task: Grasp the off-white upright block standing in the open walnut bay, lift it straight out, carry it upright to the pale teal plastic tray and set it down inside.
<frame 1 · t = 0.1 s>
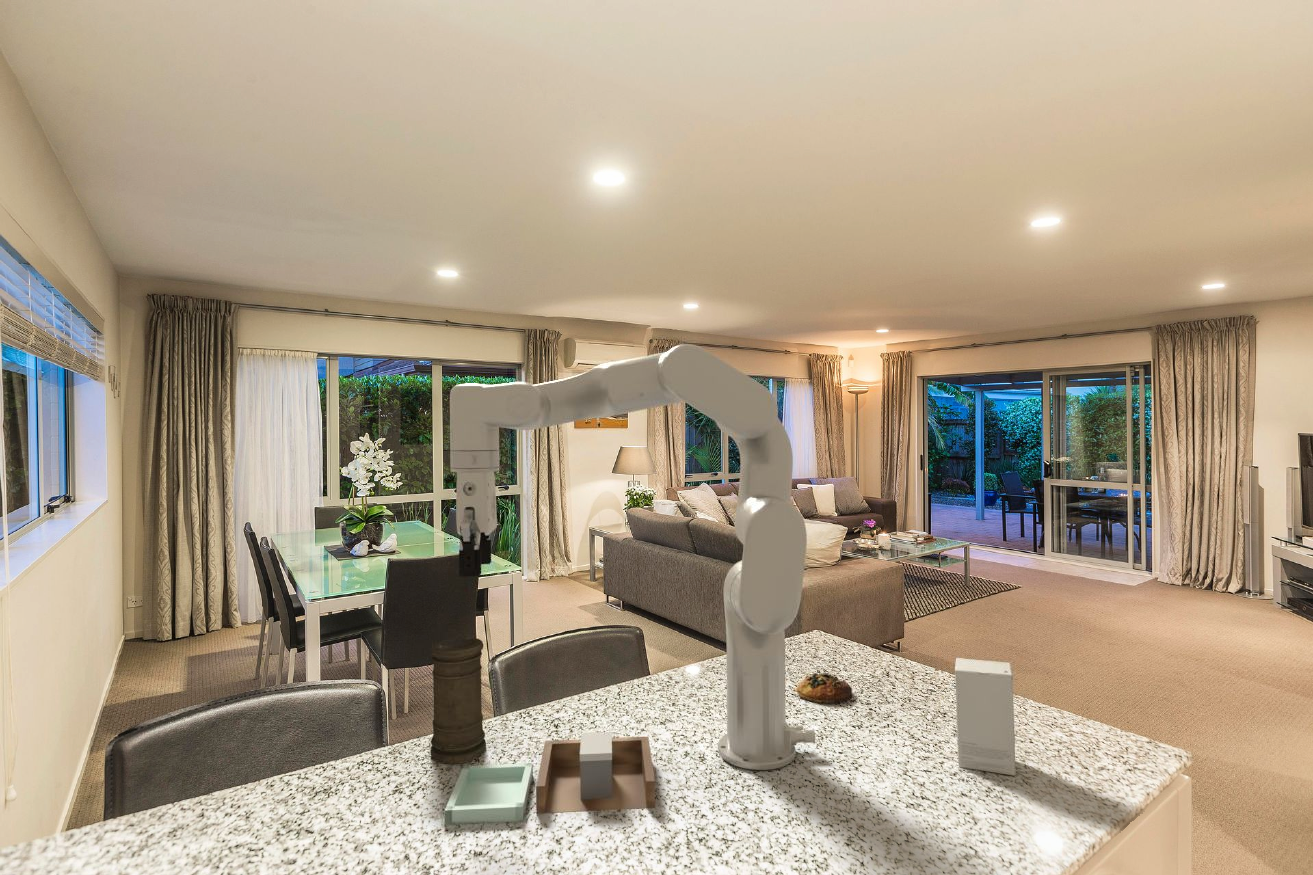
hand: (476, 569, 109), 31 cm above the kitchen island, fingers open, 9 cm apart
tray: (491, 800, 99), on the kitchen island
bread roll: (823, 696, 138), on the kitchen island
container: (458, 752, 114), on the kitchen island
bay: (596, 788, 102), on the kitchen island
skincare box: (985, 765, 108), on the kitchen island
off-white upright block: (596, 786, 102), resting on bay
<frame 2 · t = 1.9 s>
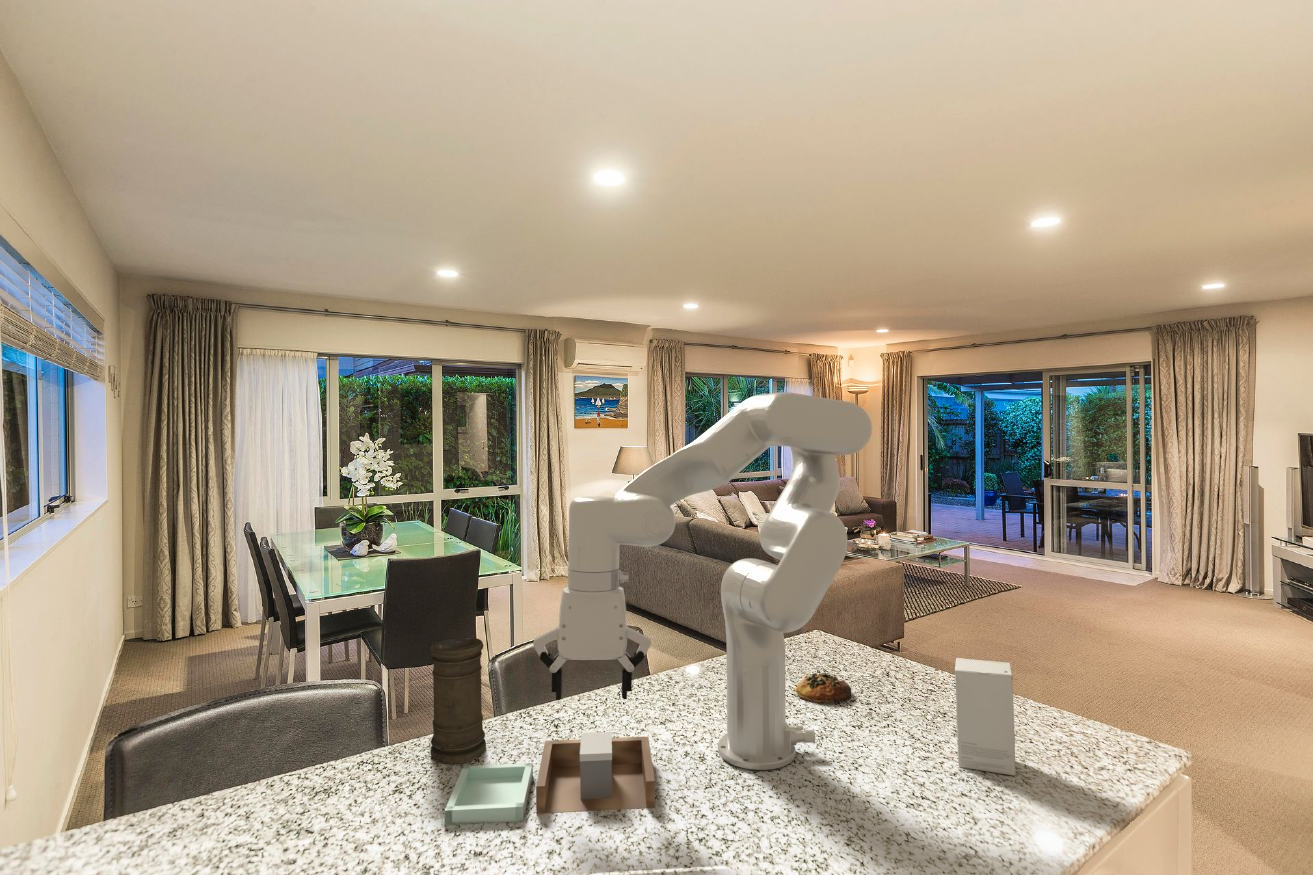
hand: (591, 696, 101), 14 cm above the kitchen island, fingers open, 9 cm apart
nothing on the kitchen island moved.
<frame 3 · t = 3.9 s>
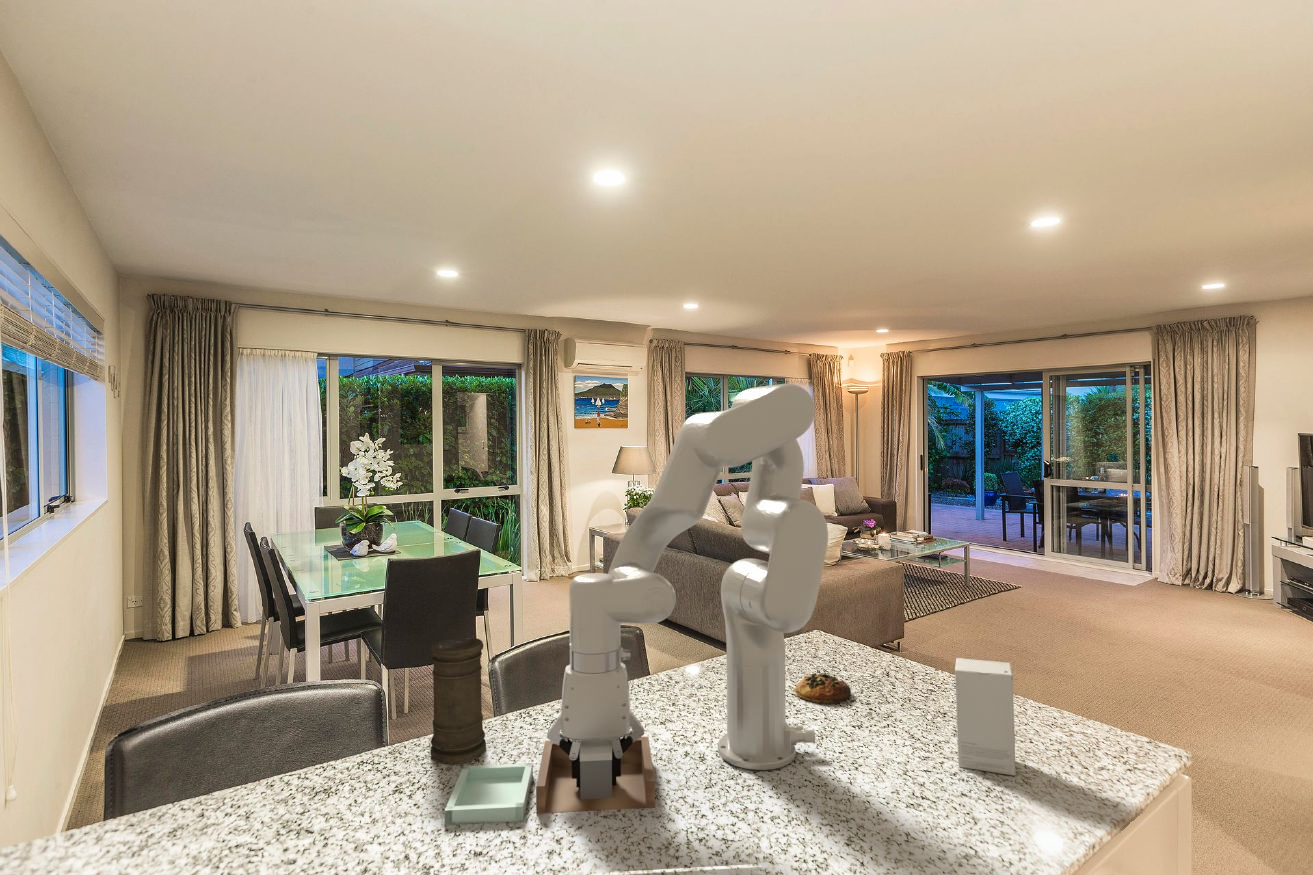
hand: (596, 780, 102), 1 cm above the kitchen island, fingers closed on off-white upright block, 4 cm apart
off-white upright block: (596, 786, 102), resting on bay, touching gripper
everything else where it was.
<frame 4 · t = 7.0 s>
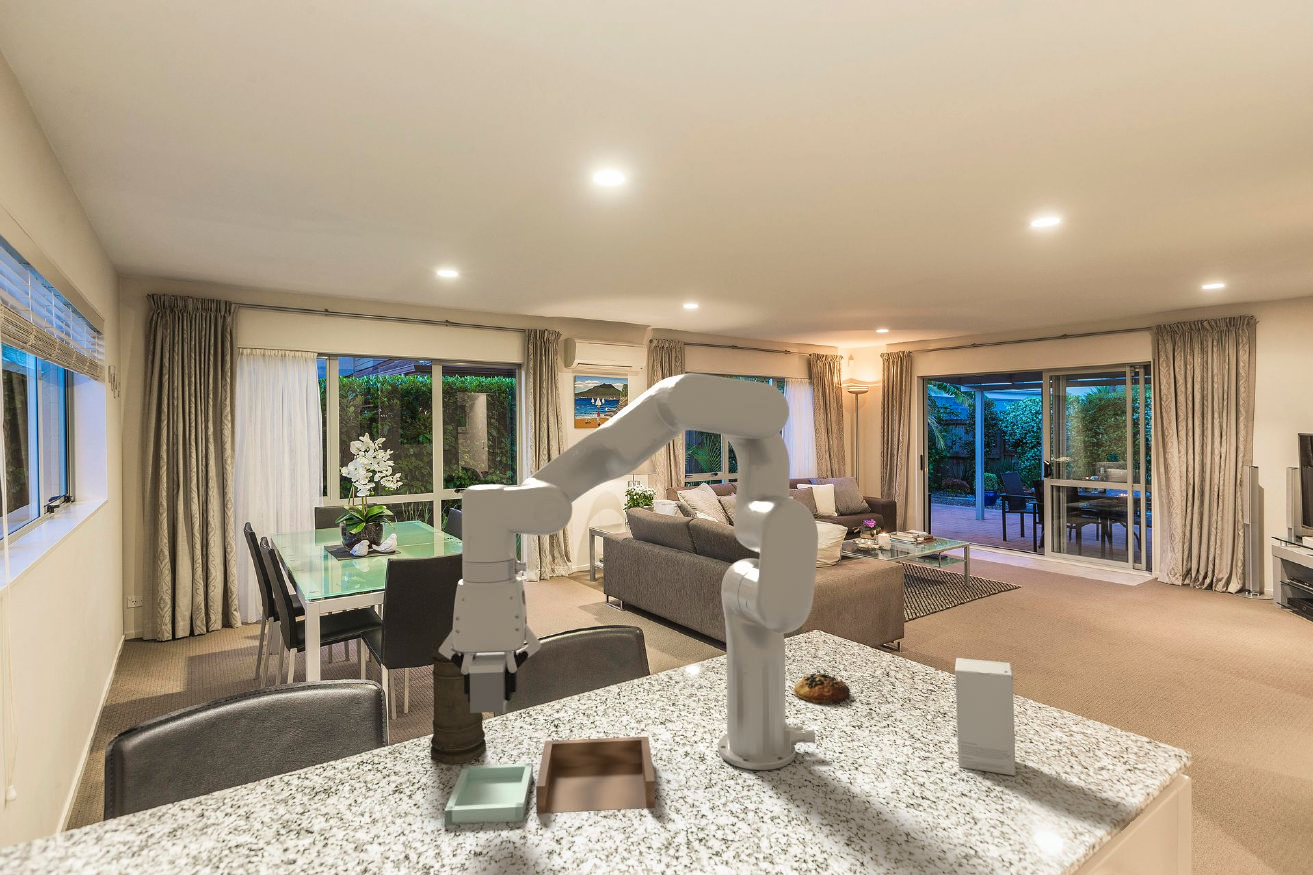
hand: (490, 696, 99), 15 cm above the kitchen island, fingers closed on off-white upright block, 4 cm apart
off-white upright block: (490, 702, 99), point 14 cm above the kitchen island, touching gripper
everything else where it was.
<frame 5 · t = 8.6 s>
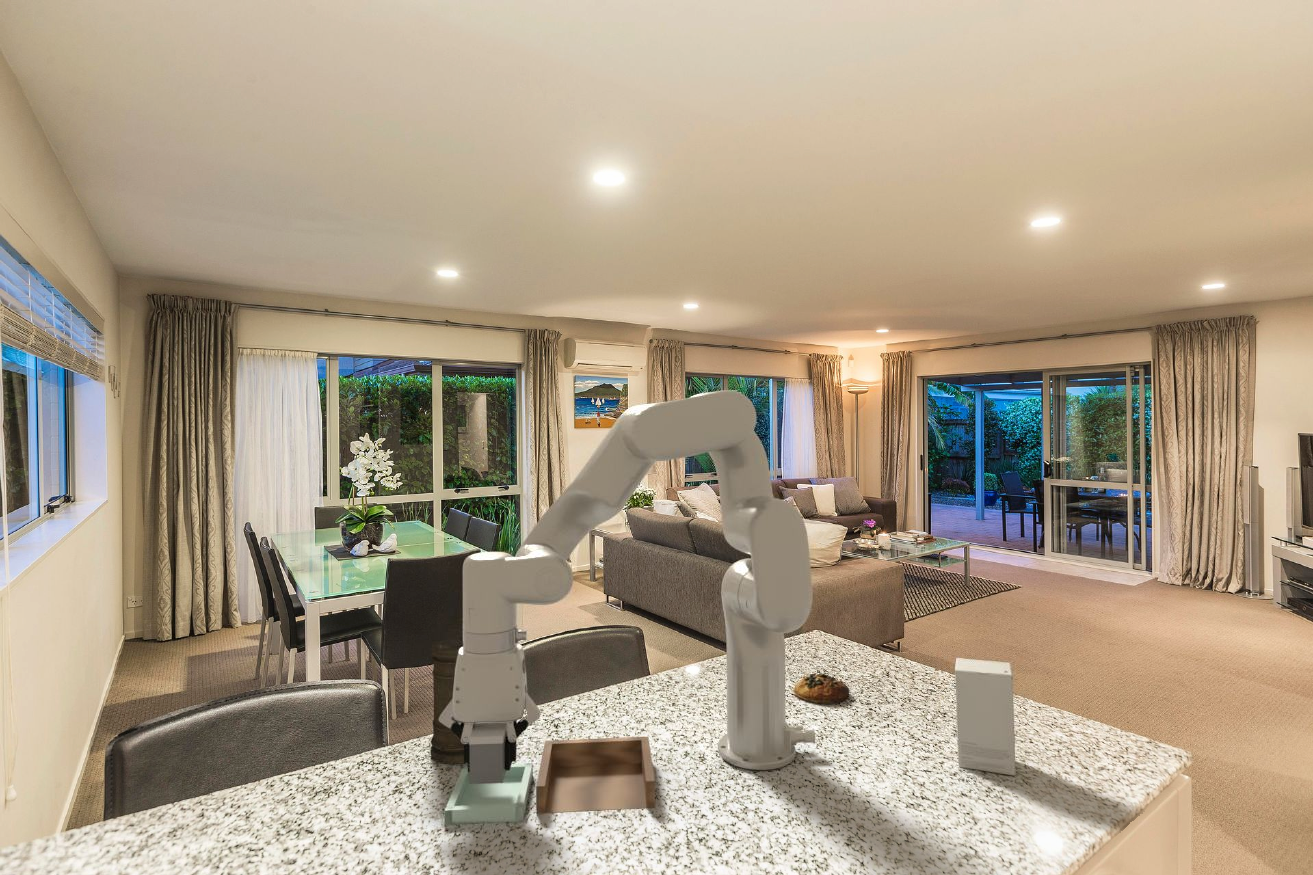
hand: (490, 765, 99), 5 cm above the kitchen island, fingers closed on off-white upright block, 4 cm apart
off-white upright block: (490, 771, 99), point 4 cm above the kitchen island, touching gripper
everything else where it was.
when the fingers open (3 cm above the kitchen island, at t = 9.9 s): off-white upright block drops 1 cm, resting on tray.
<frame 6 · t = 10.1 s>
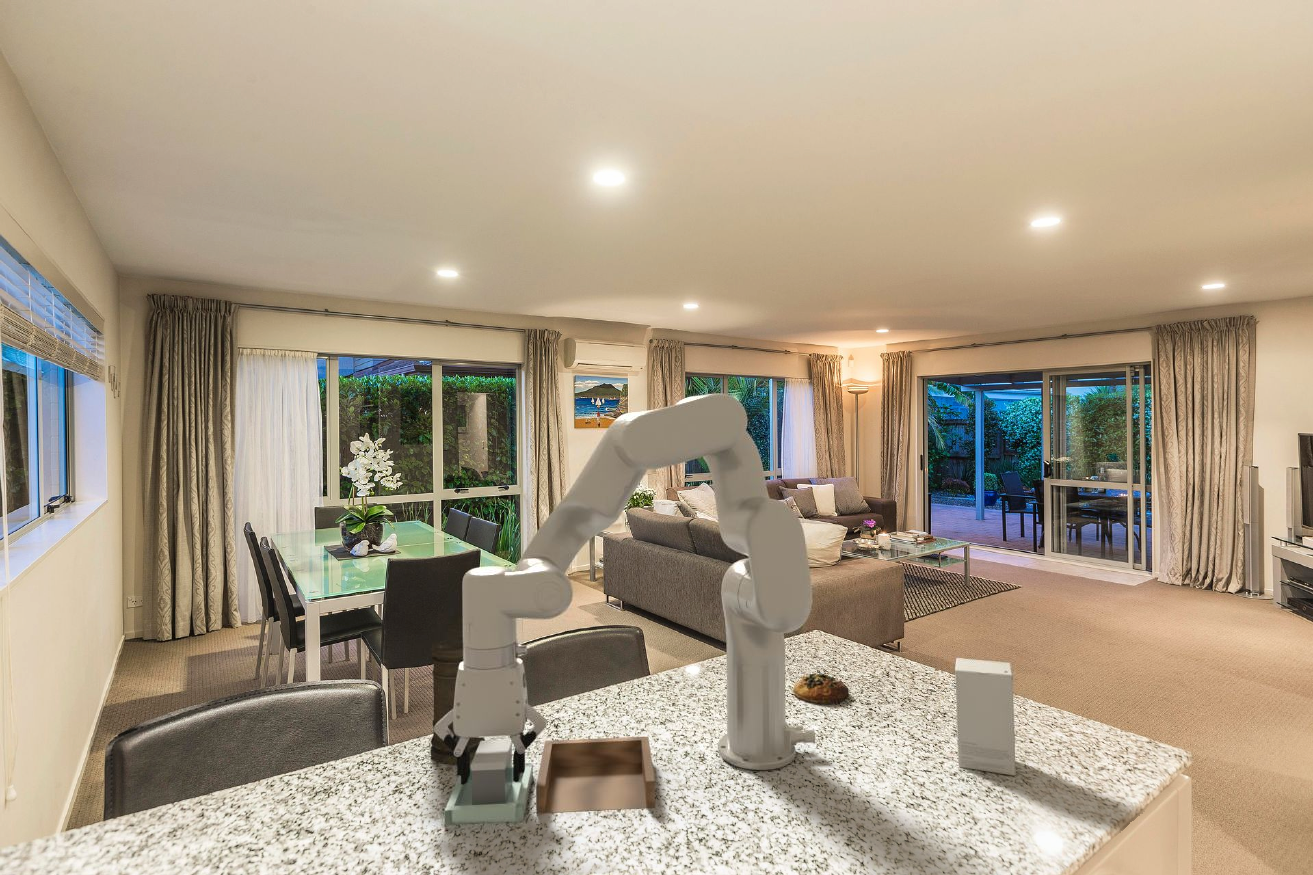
hand: (491, 777, 99), 3 cm above the kitchen island, fingers open, 6 cm apart
off-white upright block: (492, 795, 99), point 1 cm above the kitchen island, touching tray
everything else where it was.
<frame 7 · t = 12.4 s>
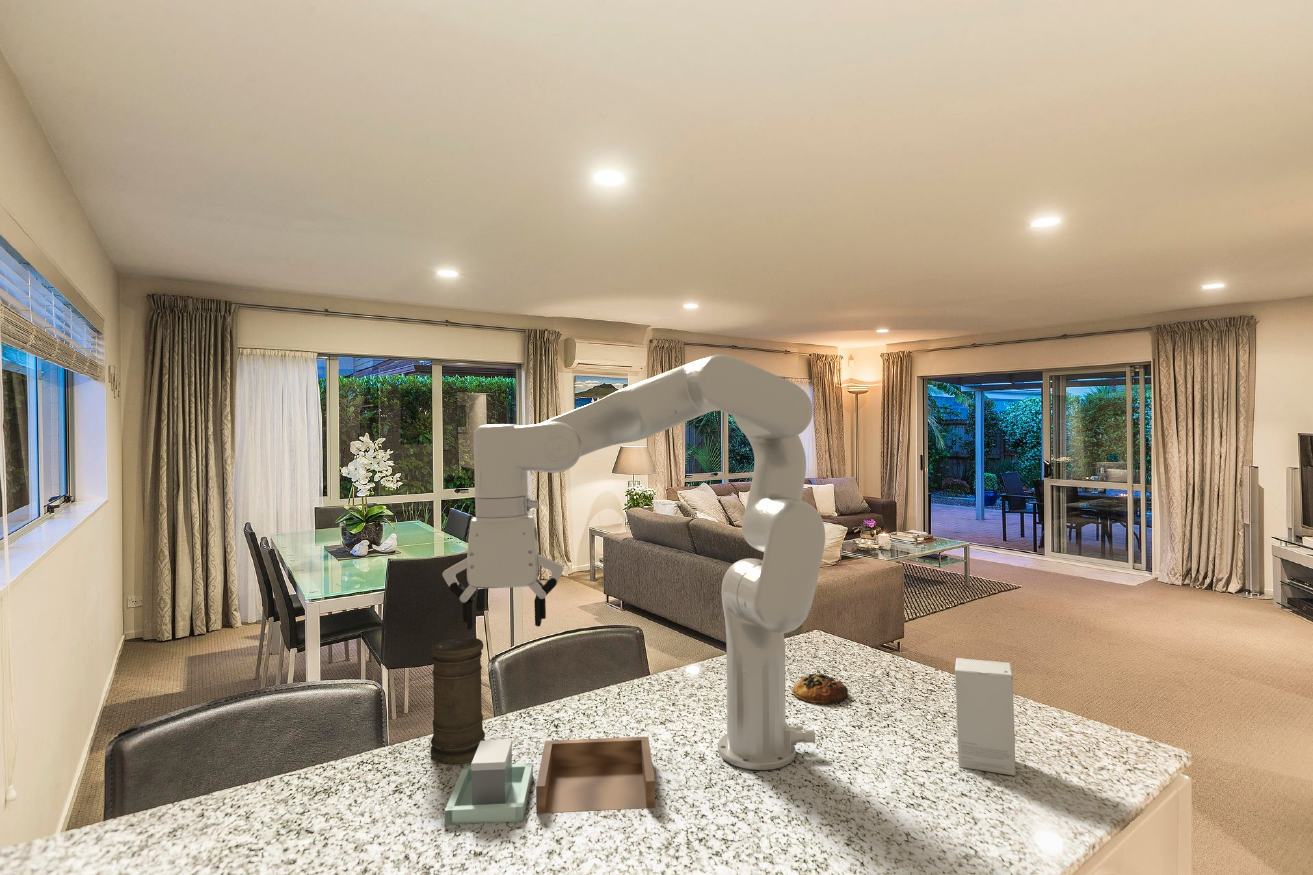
hand: (505, 625, 100), 25 cm above the kitchen island, fingers open, 9 cm apart
nothing on the kitchen island moved.
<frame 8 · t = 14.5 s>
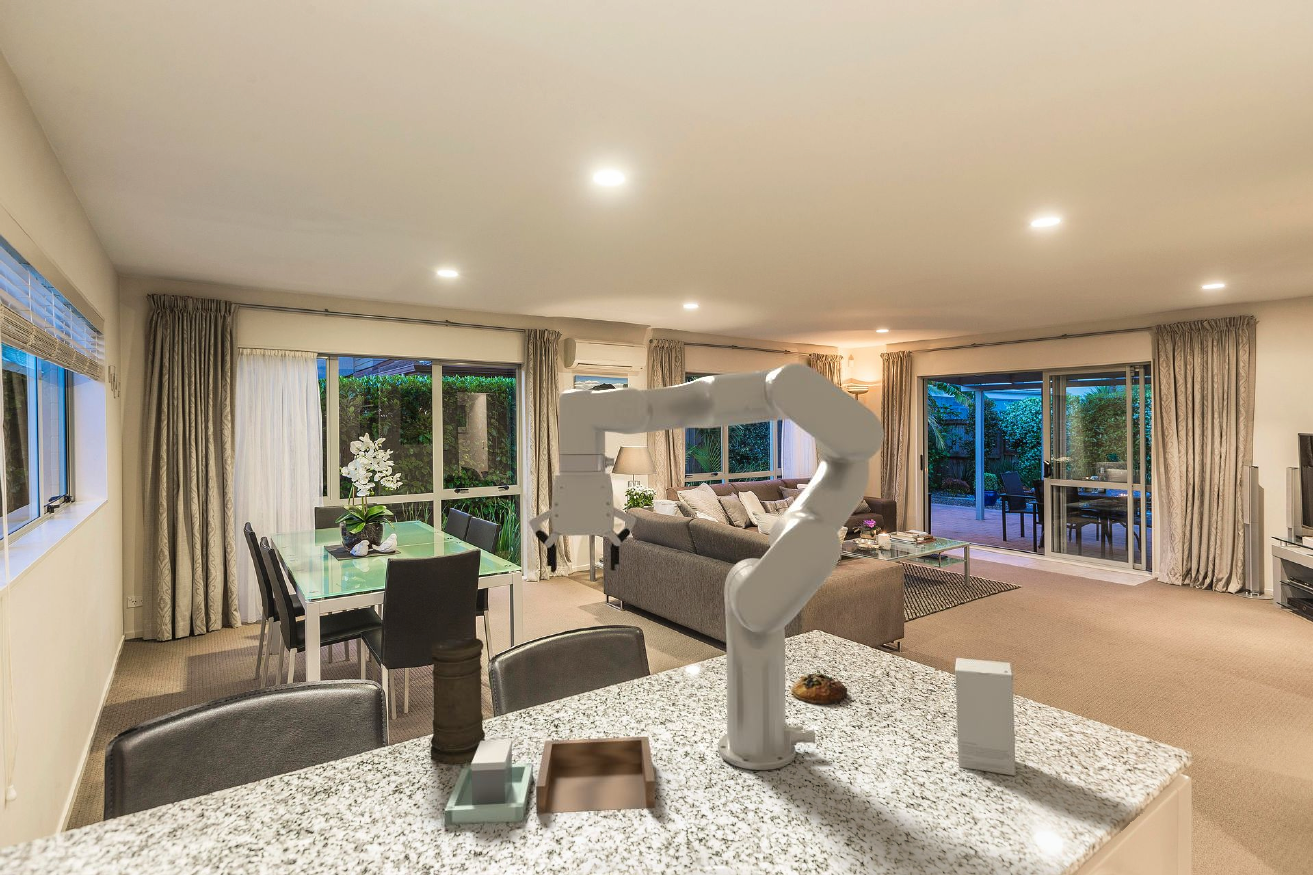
hand: (583, 569, 113), 30 cm above the kitchen island, fingers open, 9 cm apart
at the end: off-white upright block inside the target area on the tray (0.2 cm from its centre), point 0.6 cm above the tray's base; off-white upright block tilted 0°; the gripper is holding nothing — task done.
